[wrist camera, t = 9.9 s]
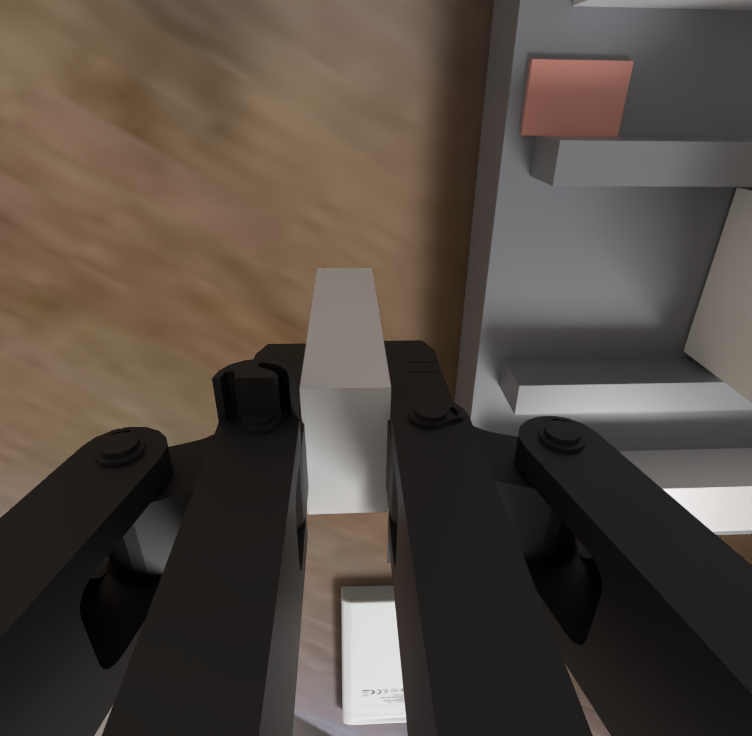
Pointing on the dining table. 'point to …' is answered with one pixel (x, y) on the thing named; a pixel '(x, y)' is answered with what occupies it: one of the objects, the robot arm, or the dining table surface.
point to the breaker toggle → (728, 303)
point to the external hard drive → (371, 657)
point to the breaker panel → (611, 233)
